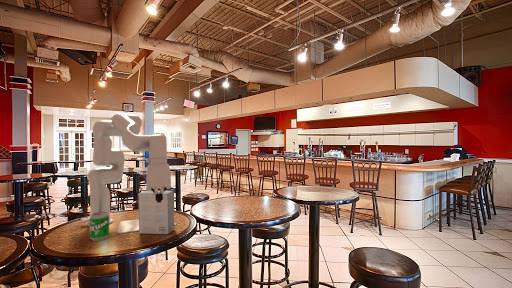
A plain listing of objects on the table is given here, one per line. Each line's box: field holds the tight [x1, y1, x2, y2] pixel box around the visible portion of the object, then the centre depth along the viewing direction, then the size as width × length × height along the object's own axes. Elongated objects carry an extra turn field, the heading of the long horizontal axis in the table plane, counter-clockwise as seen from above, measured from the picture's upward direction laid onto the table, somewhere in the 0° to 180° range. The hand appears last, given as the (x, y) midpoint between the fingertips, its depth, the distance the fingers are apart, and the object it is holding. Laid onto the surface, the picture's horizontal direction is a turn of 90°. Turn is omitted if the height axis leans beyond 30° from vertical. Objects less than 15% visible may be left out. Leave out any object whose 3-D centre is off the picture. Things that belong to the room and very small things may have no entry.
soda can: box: [89, 212, 110, 242], centre depth 116 cm, size 8×8×12 cm
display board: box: [116, 218, 177, 235], centre depth 138 cm, size 28×22×1 cm
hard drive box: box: [137, 190, 176, 235], centre depth 124 cm, size 16×8×20 cm, turn 84°
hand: (159, 202), depth 111 cm, fingers closed
